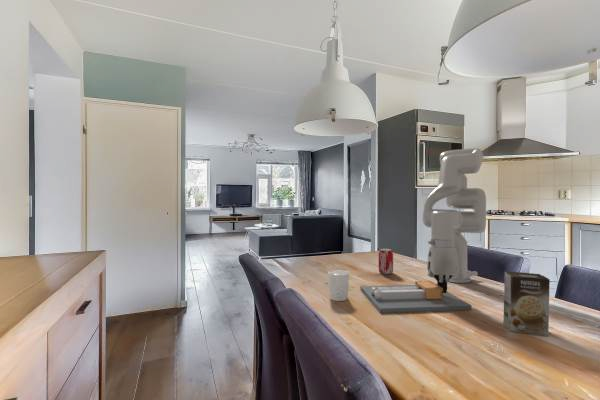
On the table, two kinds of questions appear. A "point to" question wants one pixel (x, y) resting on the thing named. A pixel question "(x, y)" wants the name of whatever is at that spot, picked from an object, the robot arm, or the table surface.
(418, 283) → the tray
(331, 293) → the white cup
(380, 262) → the soda can
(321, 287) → the table surface
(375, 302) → the board
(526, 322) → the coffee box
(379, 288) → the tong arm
